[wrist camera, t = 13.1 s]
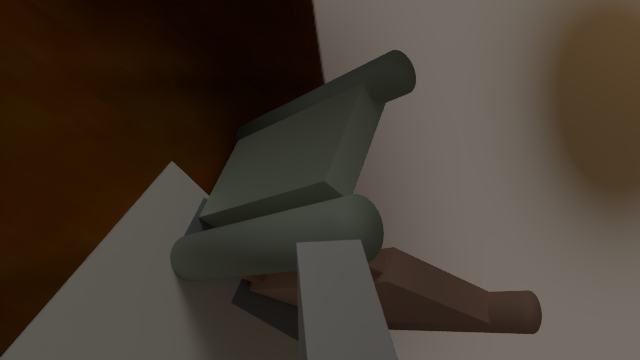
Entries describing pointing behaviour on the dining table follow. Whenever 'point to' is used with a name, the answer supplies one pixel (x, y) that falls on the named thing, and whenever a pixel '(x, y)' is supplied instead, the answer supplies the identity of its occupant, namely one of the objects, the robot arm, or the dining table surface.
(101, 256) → the card
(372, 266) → the gate panel
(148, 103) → the dining table surface
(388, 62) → the fence post and fixed panel
